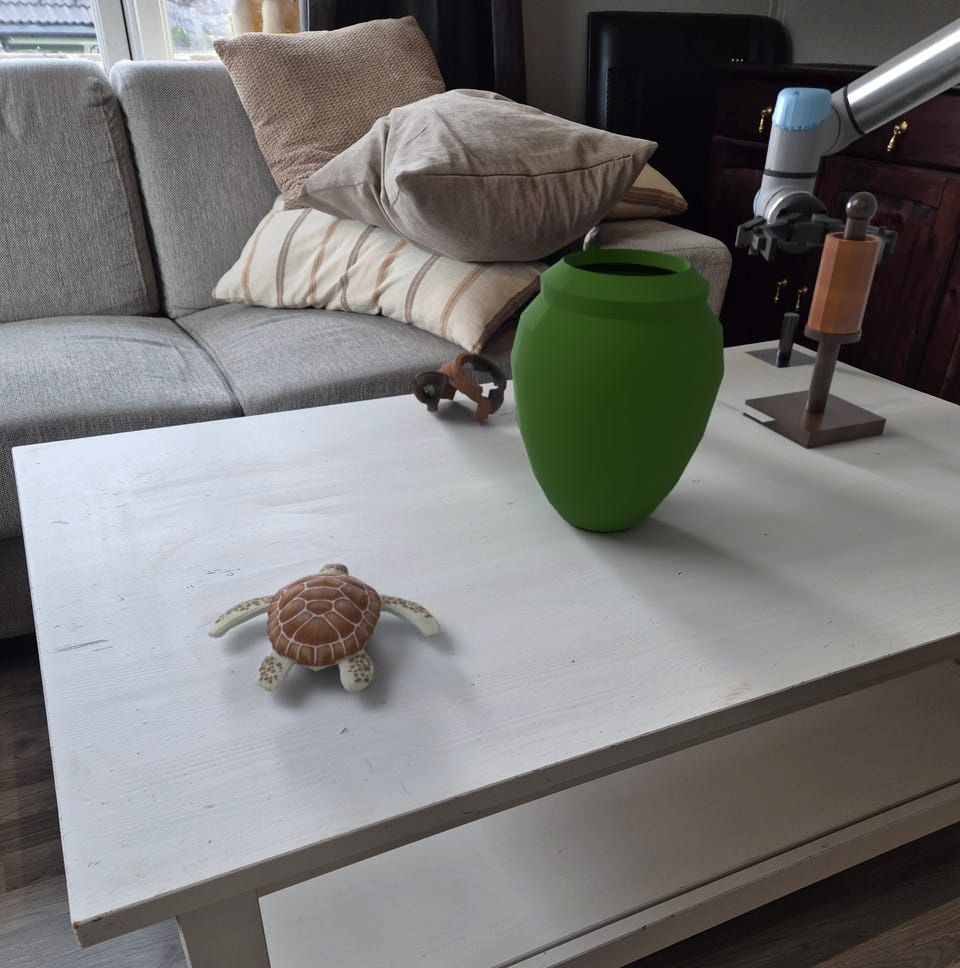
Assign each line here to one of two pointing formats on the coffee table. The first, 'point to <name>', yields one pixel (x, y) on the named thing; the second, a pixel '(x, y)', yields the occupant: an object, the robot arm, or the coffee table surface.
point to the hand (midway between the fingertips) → (829, 252)
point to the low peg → (785, 347)
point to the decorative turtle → (323, 625)
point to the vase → (615, 381)
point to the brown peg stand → (825, 375)
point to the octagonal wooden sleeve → (843, 284)
